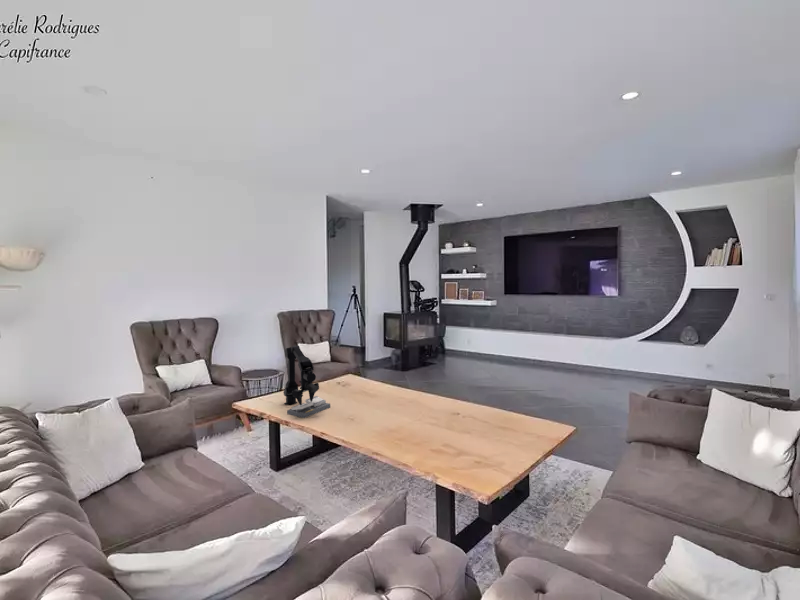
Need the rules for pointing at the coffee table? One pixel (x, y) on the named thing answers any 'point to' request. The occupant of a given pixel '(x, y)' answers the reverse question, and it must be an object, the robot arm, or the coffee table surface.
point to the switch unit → (308, 410)
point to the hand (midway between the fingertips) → (306, 403)
